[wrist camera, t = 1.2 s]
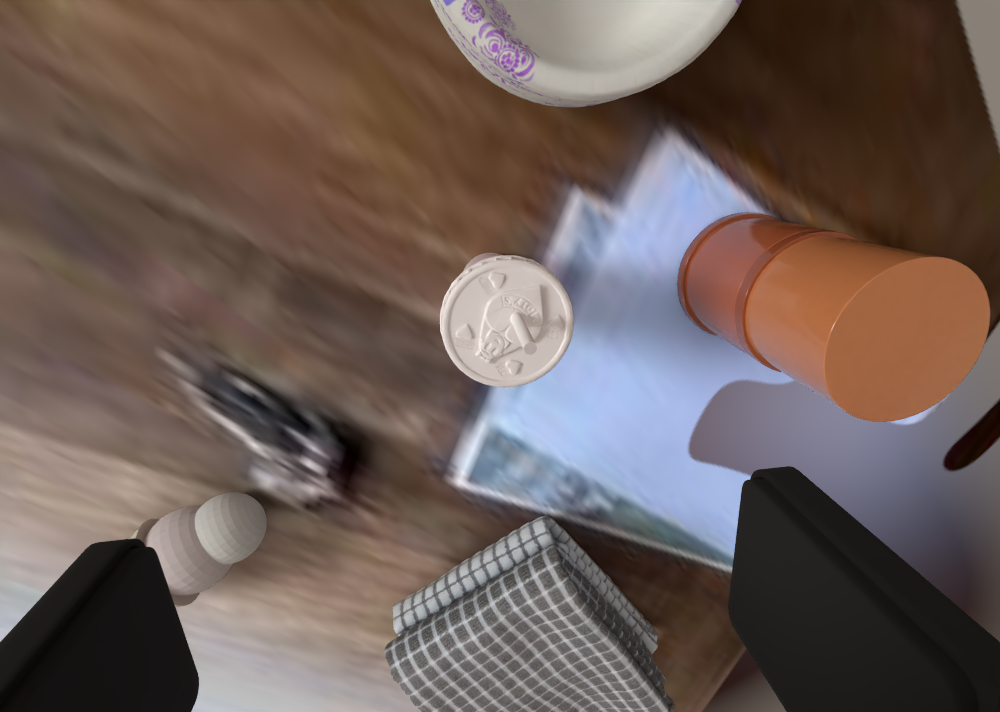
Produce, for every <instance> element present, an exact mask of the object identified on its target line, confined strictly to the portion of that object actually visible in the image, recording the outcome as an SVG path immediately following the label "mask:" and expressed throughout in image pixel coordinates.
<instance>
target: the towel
mask: <svg viewBox="0 0 1000 712" xmlns="http://www.w3.org/2000/svg"><path fill="white" fill-rule="evenodd" d="M392 612H393V619H394V622H393V629H394V632H395V633H396V634H397V635H398V637H397V638H396V639H394V640H393V641H391V642H390V643H389V644H387V646H386V648H385V650H384V651H385V653H386V659H387V661H388V663H389V666H390V668H391V675H392V676H393V679H394V680H395V681H396V682H397V683H399V684H400V685H401V688H402V690H404V691H405V693H406V694H407V695H409V696H410V699H411V701H412V702H413V703H414V705H416V706H418V708H419V709H420V710H421V711H422V712H672V711H673V709H674V705H675V704H674V701H673V700H672V699H671V698H670V697H669V696H668V695H667V693H666V692H665V690H664V687H663V686H664V684H665V683H666V678H665V677H664V676H663V674H662V673H661V671H660V670H659V669H658V668H657V666H656V665H655V663H654V658H653V656H652V654H653V653H654V651H655V650H656V649H657V647H658V644H657V643H656V641H657V638H658V633H657V632H656V631H655V630H654V628H653V627H652V625H651V624H650V622H649V621H647V620H645V619H644V617H643V615H642V614H641V613H639V611H638V610H637V609H636V608H635V607H634V606H633V605H632V603H631V602H630V601H629V600H628V599H627V598H626V597H625V595H624V594H623V593H622V592H621V591H620V590H619V588H618V587H617V586H616V585H615V584H614V583H613V582H612V580H611V579H610V577H609V576H608V575H607V574H605V573H604V572H603V570H602V569H601V568H600V567H599V566H598V565H597V564H596V563H595V562H594V561H593V560H592V559H591V558H590V557H589V556H588V554H587V553H586V552H585V551H584V550H583V549H582V548H581V547H580V546H579V545H578V544H577V543H576V542H575V541H574V540H573V539H572V538H571V536H570V535H569V534H568V533H567V532H566V531H565V530H564V529H563V528H562V527H561V526H559V525H558V524H557V523H556V521H555V520H554V519H552V518H551V517H549V516H547V515H546V516H542V517H539V518H537V519H535V520H534V521H533V522H528V523H526V524H525V525H523V526H522V527H521V528H520V529H516V530H514V531H512V532H511V533H510V534H509V535H508V536H505V537H503V538H501V539H500V540H499V541H498V542H497V543H493V544H492V545H490V546H488V547H487V548H486V549H485V550H483V551H479V552H478V553H476V554H475V555H474V556H473V557H471V558H468V559H466V560H465V561H463V562H462V563H461V564H460V565H457V566H455V567H454V568H452V569H451V570H450V571H449V572H448V573H445V574H444V575H442V576H441V577H440V578H439V579H437V580H435V581H434V582H432V583H430V584H429V585H428V586H425V587H423V588H422V589H420V590H418V591H417V592H415V593H413V594H411V595H409V596H408V597H406V598H405V599H404V600H402V601H400V602H397V603H396V604H395V605H394V606H393V608H392Z"/></svg>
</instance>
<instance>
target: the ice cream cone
mask: <svg viewBox="0 0 1000 712" xmlns="http://www.w3.org/2000/svg"><path fill="white" fill-rule="evenodd" d="M266 527H267V520H266V514H265V511H264V509H263V507H262V506H261V505H260V503H259V502H258V501H256V500H255V499H254V498H253V497H251V496H249V495H246V494H243V493H238V492H232V493H224V494H220V495H218V496H215V497H213V498H211V499H209V500H208V501H207V502H205V503H204V504H203V505H199V506H187V507H183V508H180V509H177V510H175V511H173V512H170V513H168V514H167V515H165V516H164V517H162V518H161V519H151V520H148V521H146V522H145V523H143V524H142V525H141V526H140V527H139V529H138V530H137V531H136V532H135V533H134V534H133V535H132V536H131V538H130V539H134V538H135V539H140V540H141V541H142V542H143V543H144V544H145V546H146V547H152V548H153V549H155V551H156V553H157V555H158V557H159V560H160V563H161V566H162V569H163V572H164V575H165V578H166V581H167V584H168V587H169V590H170V593H171V596H172V599H173V602H174V605H175V607H179V606H185V605H188V604H190V603H192V602H193V601H194V600H195V599H196V598H197V597H198V595H199V593H200V592H202V591H204V590H206V589H208V588H210V587H212V586H213V585H214V584H216V583H217V582H218V581H220V580H221V579H222V578H223V577H224V576H225V575H226V574H227V572H228V571H229V569H230V568H231V566H232V565H233V563H236V562H239V561H241V560H243V559H245V558H246V557H248V556H249V555H251V554H252V553H253V552H254V551H255V550H256V549H257V548H258V547H259V545H260V543H261V542H262V540H263V538H264V536H265V533H266Z"/></svg>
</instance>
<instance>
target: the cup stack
mask: <svg viewBox="0 0 1000 712" xmlns="http://www.w3.org/2000/svg"><path fill="white" fill-rule="evenodd" d="M677 287H678V295H679V300H680V303H681V306H682V308H683V310H684V312H685V313H686V315H687V316H688V317H689V319H690V320H691V321H692V322H693V323H695V324H696V325H697V326H699V327H700V328H702V329H703V330H705V331H707V332H709V333H711V334H714V335H717V336H720V337H721V338H723V339H724V340H726V341H727V342H729V343H731V344H732V345H734V346H735V347H737V348H738V349H740V350H741V351H743V352H745V353H746V354H748V355H749V356H751V357H752V358H754V359H755V360H757V361H759V362H760V363H762V364H763V365H765V366H767V367H769V368H771V369H773V370H776V371H779V372H783V373H785V374H786V375H788V376H789V377H791V378H793V379H794V380H796V381H797V382H799V383H801V384H802V385H804V386H805V387H807V388H808V389H810V390H812V391H813V392H815V393H816V394H818V395H820V396H821V397H823V398H824V399H826V400H828V401H830V402H831V403H832V404H834V405H836V406H837V407H839V408H840V409H842V410H843V411H845V412H847V413H848V414H850V415H852V416H854V417H857V418H860V419H863V420H868V421H874V422H887V421H895V420H900V419H904V418H907V417H910V416H913V415H916V414H918V413H920V412H922V411H925V410H926V409H928V408H930V407H932V406H933V405H935V404H936V403H938V402H939V401H941V400H942V399H943V398H945V397H946V396H947V395H948V394H949V393H951V392H952V391H953V390H954V389H955V388H956V387H957V386H958V385H959V384H960V383H961V382H962V380H963V379H964V378H965V377H966V376H967V374H968V373H969V372H970V370H971V369H972V367H973V366H974V364H975V363H976V361H977V359H978V357H979V355H980V353H981V351H982V349H983V346H984V344H985V341H986V338H987V334H988V330H989V324H990V304H989V299H988V295H987V291H986V289H985V287H984V285H983V283H982V282H981V280H980V279H979V277H978V276H977V275H976V274H975V273H974V272H973V271H972V270H971V269H970V268H968V267H967V266H965V265H964V264H962V263H960V262H957V261H955V260H952V259H948V258H944V257H939V256H934V255H929V254H924V253H919V252H914V251H909V250H904V249H899V248H894V247H889V246H884V245H879V244H874V243H869V242H864V241H859V240H858V239H856V238H855V237H852V236H850V235H847V234H844V233H840V232H835V231H830V230H825V229H820V228H814V227H809V226H804V225H798V224H793V223H788V222H783V221H779V220H777V219H776V218H773V217H771V216H768V215H763V214H758V213H749V212H746V213H737V214H732V215H729V216H726V217H723V218H721V219H719V220H717V221H715V222H714V223H712V224H711V225H709V226H708V227H707V228H705V229H704V230H703V231H702V232H701V233H700V234H699V235H698V236H697V237H696V238H695V239H694V240H693V242H692V243H691V244H690V246H689V248H688V249H687V251H686V253H685V255H684V257H683V259H682V262H681V265H680V268H679V273H678V282H677Z"/></svg>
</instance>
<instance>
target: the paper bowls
mask: <svg viewBox="0 0 1000 712" xmlns="http://www.w3.org/2000/svg"><path fill="white" fill-rule="evenodd" d="M741 1H742V0H431V3H432V5H433V7H434V9H435V12H436V13H437V15H438V17H439V19H440V21H441V23H442V24H443V26H444V28H445V29H446V31H447V33H448V34H449V36H450V37H451V39H452V40H453V41H454V43H455V44H456V45H457V47H458V48H459V49H460V51H461V52H462V53H463V54H464V56H465V57H466V58H467V59H468V60H469V62H470V63H471V64H472V65H473V66H474V67H475V68H476V69H477V70H478V71H479V72H480V73H481V74H482V75H483V76H484V77H486V78H487V79H488V80H490V81H491V82H492V83H494V84H496V85H497V86H499V87H501V88H503V89H505V90H506V91H508V92H509V93H512V94H514V95H516V96H518V97H521V98H523V99H526V100H529V101H532V102H535V103H540V104H543V105H547V106H557V107H584V106H592V105H596V104H601V103H605V102H609V101H612V100H616V99H619V98H622V97H625V96H628V95H631V94H634V93H638V92H640V91H643V90H645V89H648V88H650V87H652V86H654V85H656V84H658V83H660V82H662V81H664V80H666V79H667V78H668V77H670V76H672V75H673V74H675V73H677V72H679V71H680V70H682V69H683V68H685V67H686V66H687V65H689V64H690V63H691V62H693V61H694V60H695V59H696V58H697V57H698V56H699V55H700V54H701V53H702V52H703V51H705V50H706V49H707V47H708V46H709V45H710V44H711V43H712V42H713V40H714V39H715V38H716V37H717V36H718V35H719V34H720V33H721V31H722V30H723V29H724V27H725V26H726V25H727V24H728V22H729V20H730V19H731V18H732V17H733V16H734V14H735V12H736V11H737V9H738V7H739V5H740V3H741Z"/></svg>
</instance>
